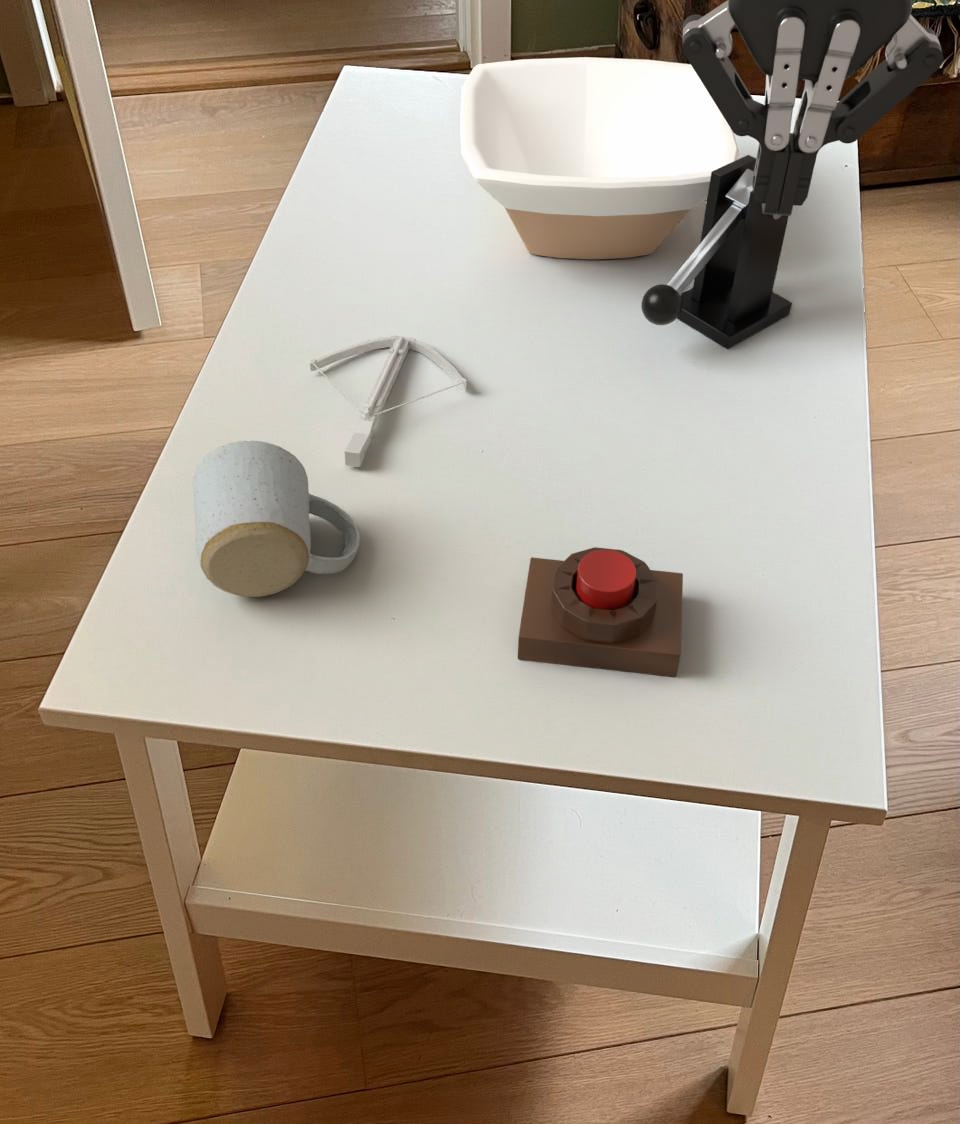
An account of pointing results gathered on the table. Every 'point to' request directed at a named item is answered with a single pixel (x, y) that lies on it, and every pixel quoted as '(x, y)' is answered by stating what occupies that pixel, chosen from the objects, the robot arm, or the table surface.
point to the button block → (601, 620)
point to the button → (606, 579)
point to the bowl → (592, 150)
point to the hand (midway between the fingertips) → (776, 207)
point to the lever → (697, 257)
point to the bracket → (737, 268)
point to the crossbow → (381, 385)
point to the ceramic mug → (261, 520)
